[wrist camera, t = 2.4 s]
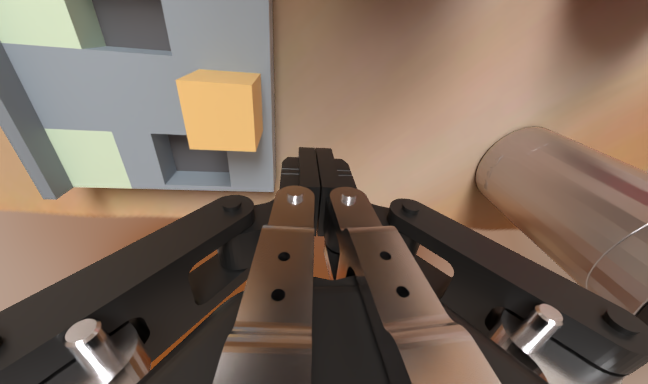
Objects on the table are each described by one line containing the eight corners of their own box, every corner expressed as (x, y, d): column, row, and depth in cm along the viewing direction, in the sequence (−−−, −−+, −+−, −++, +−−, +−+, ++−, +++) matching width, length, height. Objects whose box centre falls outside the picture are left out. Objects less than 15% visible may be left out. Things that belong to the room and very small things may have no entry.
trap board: (271, -24, 19) (264, -37, 15) (275, 177, 29) (271, 203, 24) (-21, -57, 17) (-122, -82, 13) (83, 171, 26) (43, 199, 22)
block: (260, 73, 20) (251, 85, 16) (263, 130, 23) (255, 151, 19) (199, 69, 20) (175, 80, 16) (208, 127, 22) (189, 149, 18)
